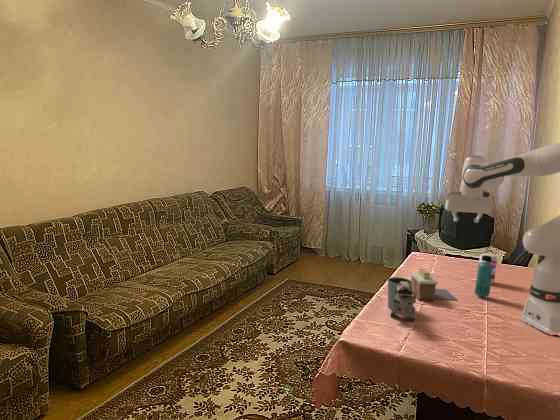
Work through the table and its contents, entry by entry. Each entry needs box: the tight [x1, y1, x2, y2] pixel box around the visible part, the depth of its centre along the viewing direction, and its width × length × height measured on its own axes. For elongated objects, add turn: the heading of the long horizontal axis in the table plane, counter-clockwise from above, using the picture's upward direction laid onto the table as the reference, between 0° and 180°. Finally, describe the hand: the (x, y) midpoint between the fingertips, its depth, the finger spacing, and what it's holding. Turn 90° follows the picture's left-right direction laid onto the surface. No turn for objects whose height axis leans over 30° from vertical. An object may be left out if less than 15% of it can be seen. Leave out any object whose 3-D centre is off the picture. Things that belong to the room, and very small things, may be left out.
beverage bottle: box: [474, 255, 493, 297], centre depth 206 cm, size 6×7×20 cm
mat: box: [434, 288, 458, 301], centre depth 208 cm, size 14×10×1 cm
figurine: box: [390, 281, 417, 323], centre depth 174 cm, size 9×12×15 cm
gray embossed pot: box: [387, 276, 413, 310], centre depth 187 cm, size 10×10×12 cm
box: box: [410, 276, 437, 302], centre depth 204 cm, size 12×7×8 cm, turn 1°
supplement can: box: [478, 252, 498, 286], centre depth 229 cm, size 8×8×15 cm
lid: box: [410, 267, 439, 285], centre depth 203 cm, size 13×8×4 cm, turn 1°
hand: (465, 221), depth 202 cm, fingers open, 8 cm apart
